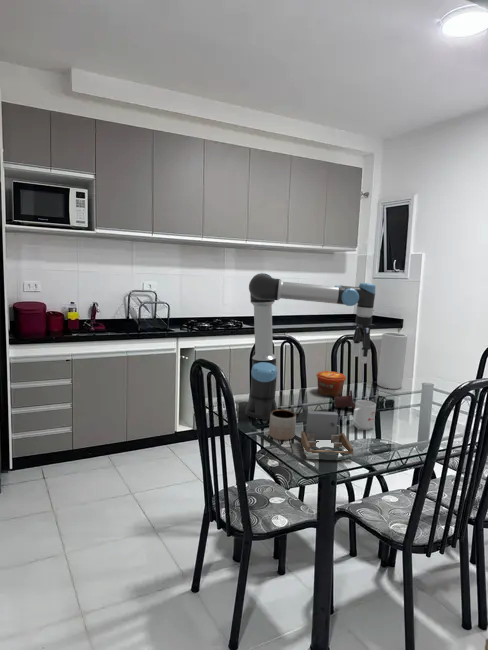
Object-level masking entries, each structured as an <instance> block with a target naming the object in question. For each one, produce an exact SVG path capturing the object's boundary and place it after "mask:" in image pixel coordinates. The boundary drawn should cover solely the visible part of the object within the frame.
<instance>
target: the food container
mask: <svg viewBox="0 0 488 650" xmlns="http://www.w3.org/2000/svg"><path fill="white" fill-rule="evenodd" d="M316 378H317V393H318V394H320V395H322V396H325V397H332V398H333V397H338V392H340V393H341V395H342V394H343V389H344V386H345V382H346V379H347V377H346V376H345V374H344V373H341V372H337V371H330V370H322V371H319V372H318V373H316Z"/></svg>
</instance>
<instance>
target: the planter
mask: <svg viewBox="0 0 488 650" xmlns="http://www.w3.org/2000/svg"><path fill="white" fill-rule="evenodd" d="M277 409H278V408H277ZM296 421H297V414H296V413H295V412H294V411H292V410H288V409H281V408H279V409H278V410H273V411H271V413H270V419H269V426H268V435H269V437H271V438H272V439H275V440H278V441H289V440H288V439H290V440H292V439H294V438H295V437H294V436H296V425H297V424H296V423H297V422H296ZM293 437H294V438H293Z"/></svg>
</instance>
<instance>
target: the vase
mask: <svg viewBox="0 0 488 650" xmlns="http://www.w3.org/2000/svg"><path fill="white" fill-rule="evenodd" d="M407 343H408V335H407V334H404V333H400V332H395V331H394V332H392V331H385V332H382V338H381V344H380V350H379V351H380V352H379V353H380V354H379V361H378V370H377V377H376V379H377V380H376V384H377V385H378V386H379V387H380V388H384V389H387V388H388V389H387V390H399V389H401V388H402V386H403V382H404V381H403V379H404V373H405V372H404V371H405V361H406V352H407Z"/></svg>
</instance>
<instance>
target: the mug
mask: <svg viewBox="0 0 488 650" xmlns="http://www.w3.org/2000/svg"><path fill="white" fill-rule="evenodd" d="M367 400H368V399H367ZM367 400H366V399H360V400H359V399H357V400H355V402H354V404H355V409H353V418H352V420H353V426H355V428H357V429H359V430H361V431H370V430H372V429H373V428H374V426H375V419H376V418H375V416H376V408H377V404H376V403H375V402H373V401H370V400H368V401H367Z"/></svg>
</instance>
